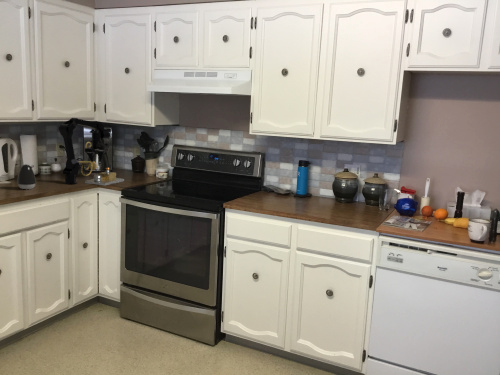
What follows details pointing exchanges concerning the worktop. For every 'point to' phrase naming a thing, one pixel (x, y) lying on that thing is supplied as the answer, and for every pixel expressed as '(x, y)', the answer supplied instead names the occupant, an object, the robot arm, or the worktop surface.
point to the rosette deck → (104, 179)
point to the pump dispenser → (26, 177)
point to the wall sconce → (91, 164)
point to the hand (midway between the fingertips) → (96, 161)
